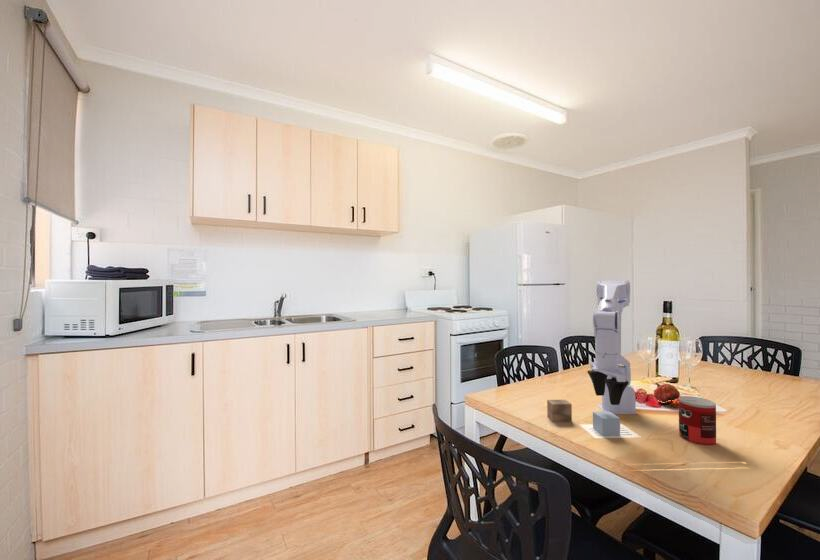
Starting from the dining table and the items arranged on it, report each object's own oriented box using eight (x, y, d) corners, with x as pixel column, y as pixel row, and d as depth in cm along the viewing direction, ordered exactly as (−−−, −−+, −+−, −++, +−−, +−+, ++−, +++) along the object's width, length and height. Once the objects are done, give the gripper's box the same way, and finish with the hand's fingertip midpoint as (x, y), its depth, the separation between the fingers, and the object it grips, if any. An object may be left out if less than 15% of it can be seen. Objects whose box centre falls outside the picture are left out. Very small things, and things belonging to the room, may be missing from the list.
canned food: (679, 431, 102) (679, 394, 102) (715, 439, 97) (715, 399, 97) (678, 441, 96) (677, 401, 96) (717, 450, 91) (716, 407, 91)
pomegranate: (683, 411, 122) (664, 387, 130) (692, 399, 118) (671, 375, 126) (662, 414, 122) (644, 390, 130) (671, 403, 118) (651, 378, 125)
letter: (621, 424, 107) (621, 423, 107) (641, 437, 98) (641, 437, 98) (579, 425, 107) (579, 424, 107) (595, 438, 98) (595, 437, 98)
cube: (609, 428, 104) (609, 411, 104) (620, 435, 99) (619, 418, 99) (593, 428, 104) (592, 411, 104) (602, 436, 99) (602, 418, 99)
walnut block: (565, 418, 113) (565, 399, 113) (571, 423, 109) (571, 404, 109) (547, 418, 113) (547, 399, 113) (552, 423, 109) (552, 404, 109)
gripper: (580, 347, 109) (580, 391, 109) (607, 358, 94) (607, 409, 94) (603, 347, 109) (603, 391, 109) (633, 358, 94) (633, 408, 94)
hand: (607, 399), depth 101 cm, fingers open, 7 cm apart
